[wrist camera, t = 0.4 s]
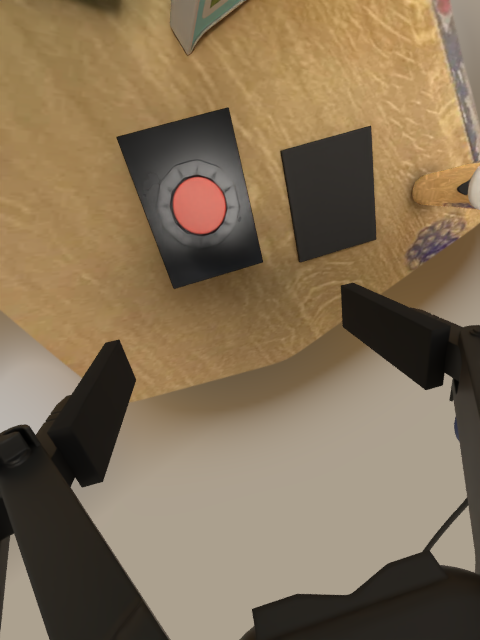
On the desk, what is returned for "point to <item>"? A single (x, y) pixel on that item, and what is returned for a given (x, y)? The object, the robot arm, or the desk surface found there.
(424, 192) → the milkshake
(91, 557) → the robot arm
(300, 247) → the mouse pad
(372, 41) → the desk surface
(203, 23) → the handheld gaming console
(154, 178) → the button box
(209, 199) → the button
